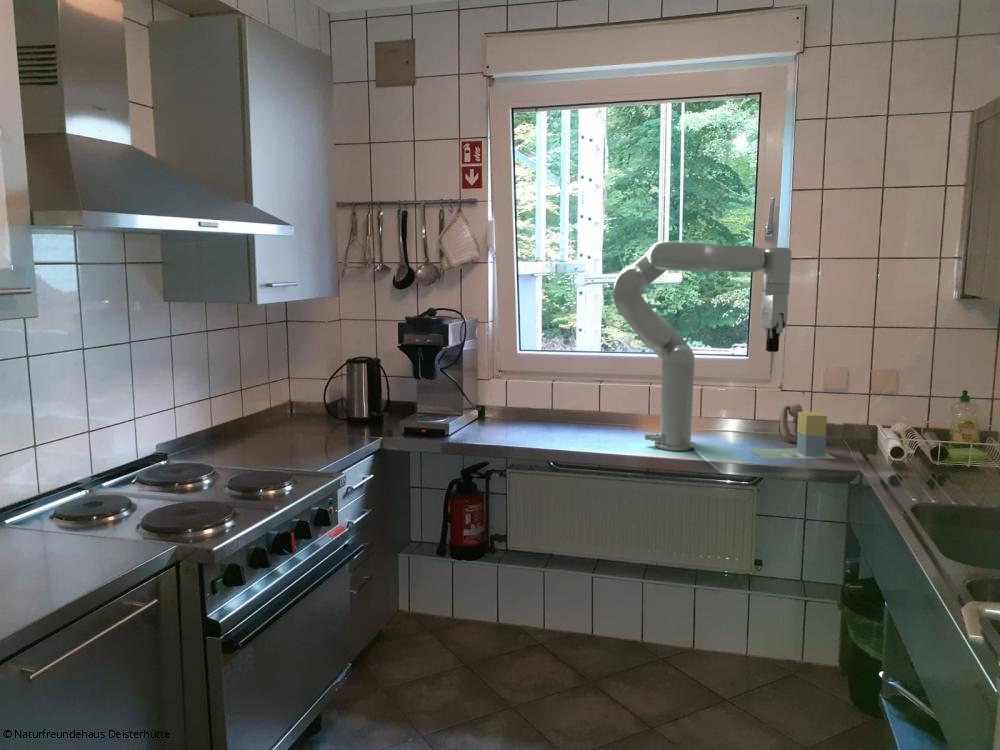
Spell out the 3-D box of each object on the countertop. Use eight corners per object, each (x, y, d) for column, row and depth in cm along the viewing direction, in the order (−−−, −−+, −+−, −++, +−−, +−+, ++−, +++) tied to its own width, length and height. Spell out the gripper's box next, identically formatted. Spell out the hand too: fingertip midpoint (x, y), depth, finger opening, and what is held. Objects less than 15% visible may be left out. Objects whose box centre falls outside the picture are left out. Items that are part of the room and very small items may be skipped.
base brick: (805, 455, 227) (806, 435, 227) (796, 450, 233) (797, 431, 232) (825, 455, 228) (826, 435, 227) (815, 450, 234) (817, 431, 233)
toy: (814, 446, 242) (802, 400, 241) (786, 452, 244) (774, 407, 243) (808, 439, 251) (797, 395, 250) (782, 446, 253) (770, 402, 252)
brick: (805, 435, 227) (806, 415, 226) (797, 431, 233) (798, 411, 232) (825, 435, 227) (827, 415, 226) (816, 431, 233) (817, 411, 232)
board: (761, 462, 224) (762, 458, 224) (746, 452, 236) (747, 448, 236) (836, 462, 225) (836, 457, 225) (817, 452, 237) (817, 447, 237)
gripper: (753, 288, 236) (750, 348, 239) (773, 290, 221) (769, 354, 224) (778, 289, 237) (774, 348, 239) (799, 290, 222) (795, 354, 224)
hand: (772, 351), depth 232 cm, fingers closed
